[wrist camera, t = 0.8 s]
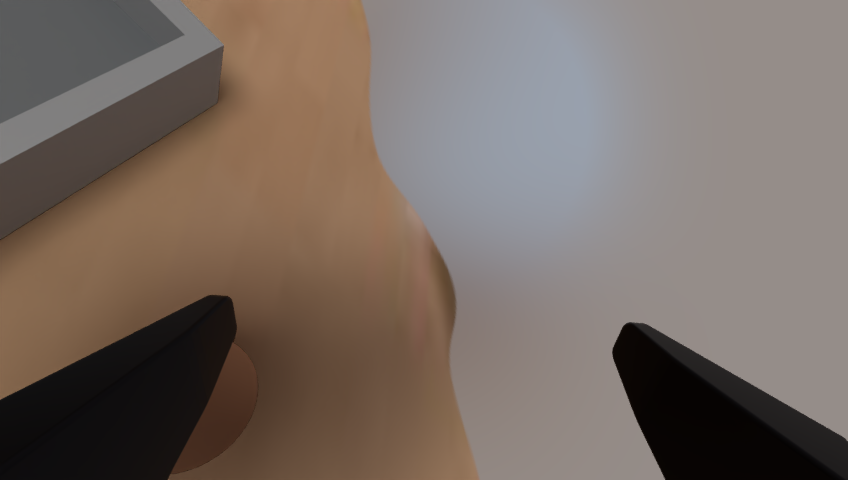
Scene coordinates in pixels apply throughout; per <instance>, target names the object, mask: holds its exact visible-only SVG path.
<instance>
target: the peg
mask: <svg viewBox="0 0 848 480" xmlns="http://www.w3.org/2000/svg"><path fill="white" fill-rule="evenodd" d="M257 395H258V380H257V374H256V371H255V368H254V366H253V363H252V361H251V360H250V358H249V357H248V355H247V354H246V353H245V352H244V351H243V350H242V349H241V348H240V347H239V346H238V345H236V344H234V343H232V346H231V348H230V350H229V353H228V355H227V358H226V360H225V363H224V365H223V368H222V370H221V373H220V375H219V378H218V380H217V383H216V385H215V388H214V390H213V393H212V395H211V397H210V399H209V402H208V404H207V406H206V408H205V410H204V412H203V414H202V416H201V417H200V419H199V421H198V423H197V425H196V427H195V429H194V431H193V432H192V434H191V436H190V438H189V440H188V442H187V444H186V446H185V447H184V449H183V451H182V453H181V455H180V457H179V459H178V461H177V462H176V464H175V466H174V468H173V470H172V472H171V474H175V473H180V472H184V471H188V470H191V469H194V468H196V467H199V466H201V465H203V464H205V463H207V462H209V461H210V460H212V459H214V458H215V457H217V456H218V455H220V454H221V453H222V452H223V451H225V450H226V449H227V448H228V447H229V446H230V445H231V444H232V443H233V442H234V441H235V440H236V439H237V438H238V437H239V436H240V434H241V433H242V432H243V430H244V429H245V427H246V426H247V424H248V422H249V420H250V418H251V416H252V414H253V411H254V408H255V405H256V402H257Z"/></svg>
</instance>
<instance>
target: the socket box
mask: <svg viewBox="0 0 848 480" xmlns="http://www.w3.org/2000/svg"><path fill="white" fill-rule="evenodd" d="M223 48H224V45H223V44H222V43H221V42H220V41H219V39H218V38H217V37H216V36H215V35H214V34H213V33H212V32H211V31H210V30H209V29H208V28H207V27H206V26H205V25H204V24H203V23H202V22H201V21H200V20H199V19H198V18H197V17H196V16H195V15H194V14H193V13H192V12H191V11H190V10H189V9H188V8H187V7H186V6H185V5H184V4H183V3H182V2H181V1H180V0H0V239H2V238H4V237H5V236H7V235H8V234H10V233H11V232H13V231H15V230H16V229H18V228H19V227H21V226H23V225H24V224H26V223H27V222H29V221H31V220H32V219H34V218H35V217H37V216H38V215H40V214H42V213H43V212H45V211H46V210H48V209H50V208H51V207H53V206H54V205H56V204H58V203H59V202H61V201H62V200H64V199H66V198H67V197H69V196H70V195H72V194H73V193H75V192H77V191H78V190H80V189H81V188H83V187H85V186H86V185H88V184H89V183H91V182H93V181H94V180H96V179H97V178H99V177H100V176H102V175H104V174H105V173H107V172H108V171H110V170H112V169H113V168H115V167H116V166H118V165H120V164H121V163H123V162H124V161H126V160H128V159H129V158H131V157H132V156H134V155H135V154H137V153H139V152H140V151H142V150H143V149H145V148H147V147H148V146H150V145H151V144H153V143H155V142H156V141H158V140H159V139H161V138H162V137H164V136H166V135H167V134H169V133H170V132H172V131H174V130H175V129H177V128H178V127H180V126H182V125H183V124H185V123H186V122H188V121H190V120H191V119H193V118H194V117H196V116H197V115H199V114H201V113H202V112H204V111H205V110H207V109H209V108H210V107H212V106H213V105H215V104H217V101H218V92H219V83H220V75H221V66H222V57H223Z"/></svg>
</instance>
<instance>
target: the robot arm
mask: <svg viewBox="0 0 848 480" xmlns="http://www.w3.org/2000/svg"><path fill="white" fill-rule="evenodd" d="M236 330H237V325H236V319H235V313H234V307H233V302H232V299H231V298H230V297H229V296H221V295H209V296H206V297H204V298H202V299H200V300H198V301H196V302H194V303H192V304H190V305H188V306H186V307H184V308H182V309H180V310H178V311H176V312H174V313H172V314H170V315H168V316H166V317H164V318H162V319H160V320H158V321H156V322H154V323H152V324H150V325H149V326H147V327H145V328H143V329H141V330H139V331H137V332H135V333H133V334H131V335H129V336H127V337H125V338H123V339H121V340H119V341H117V342H115V343H113V344H111V345H109V346H107V347H105V348H103V349H101V350H99V351H97V352H95V353H93V354H91V355H89V356H87V357H85V358H83V359H81V360H79V361H77V362H75V363H73V364H71V365H69V366H67V367H65V368H63V369H61V370H59V371H57V372H55V373H53V374H51V375H49V376H47V377H45V378H43V379H41V380H39V381H37V382H35V383H33V384H31V385H29V386H27V387H25V388H23V389H21V390H19V391H17V392H15V393H13V394H11V395H9V396H7V397H5V398H3V399H1V400H0V480H167V479H168V477H169V476H170V474H171V472H172V470H173V468H174V466H175V464H176V462H177V461H178V459H179V457H180V455H181V453H182V451H183V449H184V447H185V446H186V444H187V442H188V440H189V438H190V436H191V434H192V432H193V431H194V429H195V427H196V425H197V423H198V421H199V419H200V417H201V416H202V414H203V412H204V410H205V408H206V406H207V404H208V402H209V399H210V397H211V395H212V393H213V390H214V388H215V385H216V383H217V380H218V378H219V375H220V373H221V370H222V368H223V365H224V363H225V360H226V358H227V355H228V353H229V350H230V348H231V346H232V343H233V341H234V338H235V335H236ZM612 354H613V359H614V362H615V364H616V367H617V370H618V373H619V375H620V378H621V380H622V383H623V386H624V388H625V391H626V394H627V396H628V399H629V402H630V404H631V407H632V410H633V412H634V415H635V417H636V419H637V422H638V424H639V426H640V428H641V430H642V432H643V434H644V436H645V439H646V441H647V443H648V445H649V447H650V449H651V451H652V453H653V455H654V457H655V459H656V461H657V463H658V465H659V468H660V469H661V472H662V474H663V476H664V478H665V480H848V441H847V440H846V439H845V438H844V437H842V436H840V435H839V434H837V433H835V432H833V431H832V430H830V429H828V428H826V427H825V426H823V425H821V424H819V423H818V422H816V421H814V420H812V419H810V418H809V417H807V416H806V415H804V414H802V413H800V412H799V411H797V410H795V409H793V408H791V407H790V406H788V405H786V404H784V403H783V402H781V401H779V400H778V399H776V398H774V397H772V396H771V395H769V394H767V393H765V392H764V391H762V390H760V389H758V388H757V387H755V386H753V385H751V384H750V383H748V382H746V381H744V380H743V379H741V378H739V377H738V376H736V375H734V374H732V373H731V372H729V371H727V370H725V369H724V368H722V367H720V366H718V365H717V364H715V363H713V362H711V361H710V360H708V359H706V358H704V357H703V356H701V355H699V354H697V353H695V352H694V351H692V350H690V349H689V348H687V347H685V346H683V345H682V344H680V343H678V342H676V341H675V340H673V339H671V338H669V337H668V336H666V335H664V334H663V333H661V332H659V331H657V330H656V329H654V328H652V327H650V326H648V325H647V324H644V323H632V322H629V323H626V324H625V325H624V326H623V327H622V330H621V332H620V334H619V336H618V338H617V340H616V342H615V345H614V347H613V351H612Z"/></svg>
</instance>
